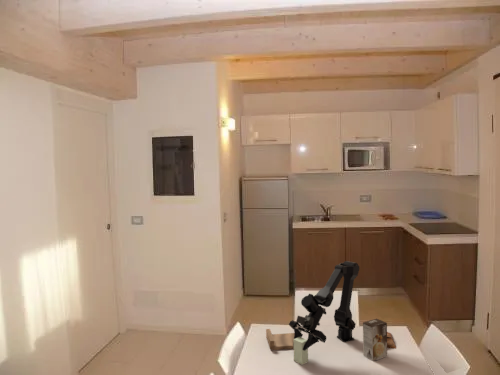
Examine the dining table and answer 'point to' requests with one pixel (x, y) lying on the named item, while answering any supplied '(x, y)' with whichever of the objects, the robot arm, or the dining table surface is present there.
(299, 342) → the pale green block
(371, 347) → the coffee box
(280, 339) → the edge board
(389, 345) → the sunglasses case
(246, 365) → the dining table surface
